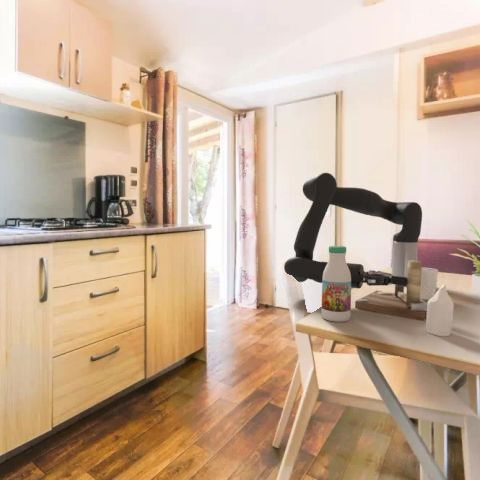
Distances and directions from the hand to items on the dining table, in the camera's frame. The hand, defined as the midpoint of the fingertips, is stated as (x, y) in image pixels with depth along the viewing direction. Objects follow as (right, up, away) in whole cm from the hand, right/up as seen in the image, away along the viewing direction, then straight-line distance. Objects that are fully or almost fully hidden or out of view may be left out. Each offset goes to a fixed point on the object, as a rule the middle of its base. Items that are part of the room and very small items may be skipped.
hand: (406, 281), depth 98 cm
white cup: (+15, -8, +19) cm, 26 cm away
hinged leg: (+3, -7, +6) cm, 9 cm away
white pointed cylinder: (+1, -11, -14) cm, 18 cm away
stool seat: (+1, -9, +8) cm, 12 cm away
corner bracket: (+2, -8, -1) cm, 8 cm away
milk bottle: (-21, -10, -3) cm, 24 cm away
